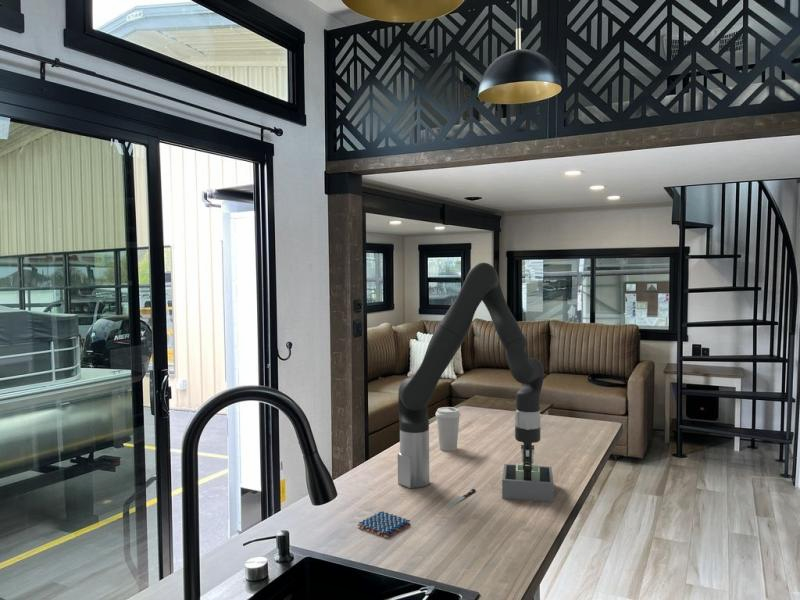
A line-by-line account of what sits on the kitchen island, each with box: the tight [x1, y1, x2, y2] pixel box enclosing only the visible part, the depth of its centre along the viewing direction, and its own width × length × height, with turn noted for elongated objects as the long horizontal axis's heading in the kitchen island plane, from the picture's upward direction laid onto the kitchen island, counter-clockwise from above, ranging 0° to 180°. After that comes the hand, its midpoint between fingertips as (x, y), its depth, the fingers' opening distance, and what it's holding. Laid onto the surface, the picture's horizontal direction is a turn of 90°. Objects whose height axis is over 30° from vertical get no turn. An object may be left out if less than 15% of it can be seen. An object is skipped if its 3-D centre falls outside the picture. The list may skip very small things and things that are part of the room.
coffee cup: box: [435, 406, 462, 452], centre depth 218 cm, size 10×10×15 cm
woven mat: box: [357, 511, 411, 539], centre depth 152 cm, size 10×11×2 cm
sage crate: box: [515, 463, 541, 482], centre depth 176 cm, size 6×7×6 cm
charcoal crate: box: [501, 463, 554, 503], centre depth 176 cm, size 15×15×6 cm
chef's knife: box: [444, 488, 476, 511], centre depth 170 cm, size 19×1×3 cm
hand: (527, 477), depth 176 cm, fingers open, 8 cm apart
